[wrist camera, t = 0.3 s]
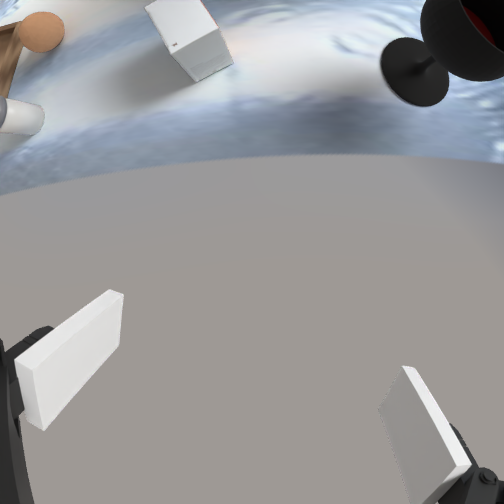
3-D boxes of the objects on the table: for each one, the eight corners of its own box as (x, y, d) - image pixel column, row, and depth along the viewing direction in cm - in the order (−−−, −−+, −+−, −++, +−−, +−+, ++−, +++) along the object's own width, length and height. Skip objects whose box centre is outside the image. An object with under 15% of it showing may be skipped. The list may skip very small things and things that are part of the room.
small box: (234, 63, 36) (221, 28, 25) (195, 84, 37) (170, 56, 26) (208, 20, 34) (188, -19, 24) (171, 40, 35) (142, 6, 25)
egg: (59, 61, 37) (23, 46, 28) (36, 54, 36) (2, 40, 27) (80, 25, 35) (48, 4, 26) (55, 20, 35) (24, 2, 26)
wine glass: (366, 50, 34) (423, -30, 14) (422, 30, 32) (492, -37, 12) (407, 118, 35) (498, 80, 16) (460, 92, 34) (553, 56, 14)
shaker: (27, 103, 38) (-18, 95, 28) (48, 104, 38) (3, 93, 28) (20, 135, 40) (-26, 132, 29) (41, 137, 39) (-6, 133, 29)
